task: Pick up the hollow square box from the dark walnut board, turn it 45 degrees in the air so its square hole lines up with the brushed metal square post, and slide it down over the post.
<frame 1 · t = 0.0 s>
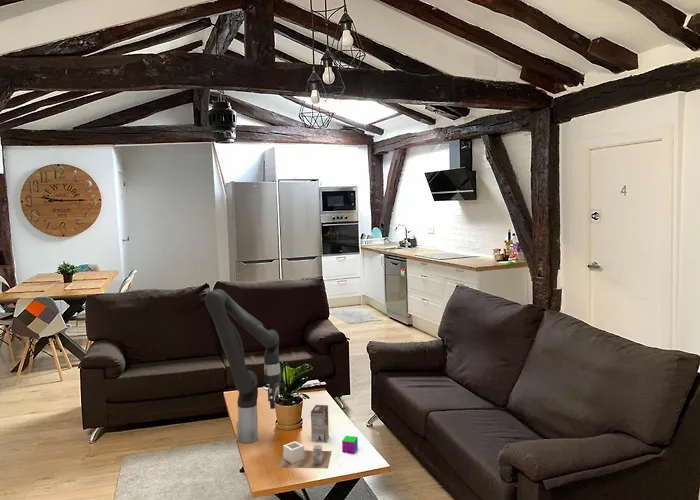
hand: (274, 405, 264), 17 cm above the table, tool pointing down, fingers open, 8 cm apart
hollow square box: (293, 458, 242), point 1 cm above the table, touching post board
puzzle toy: (350, 451, 253), on the table
post board: (305, 462, 242), on the table
coffee box: (320, 440, 264), on the table
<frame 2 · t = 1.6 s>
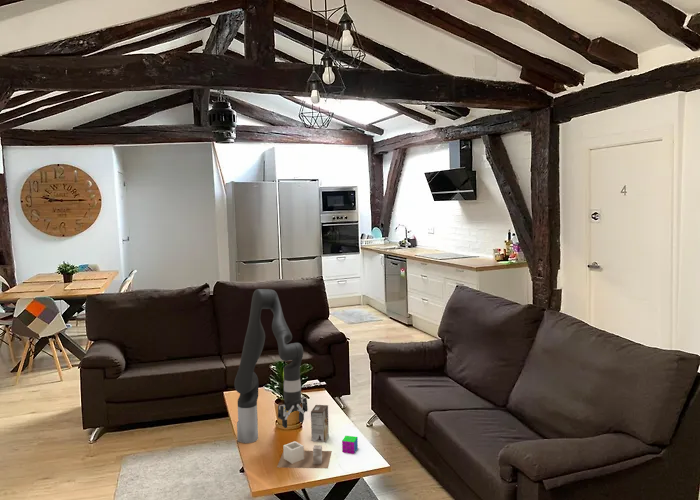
hand: (293, 424, 241), 17 cm above the table, tool pointing down, fingers open, 8 cm apart
nothing on the table moved.
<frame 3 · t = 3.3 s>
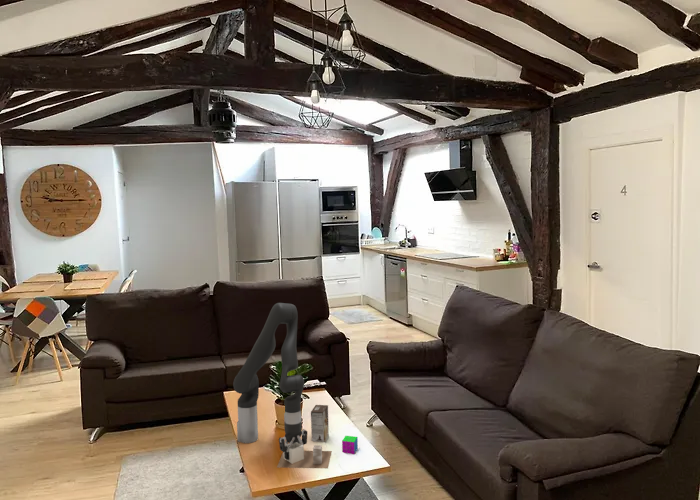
hand: (293, 456, 242), 2 cm above the table, tool pointing down, fingers closed on hollow square box, 6 cm apart
hollow square box: (293, 458, 242), point 2 cm above the table, touching gripper, post board
everything else where it was.
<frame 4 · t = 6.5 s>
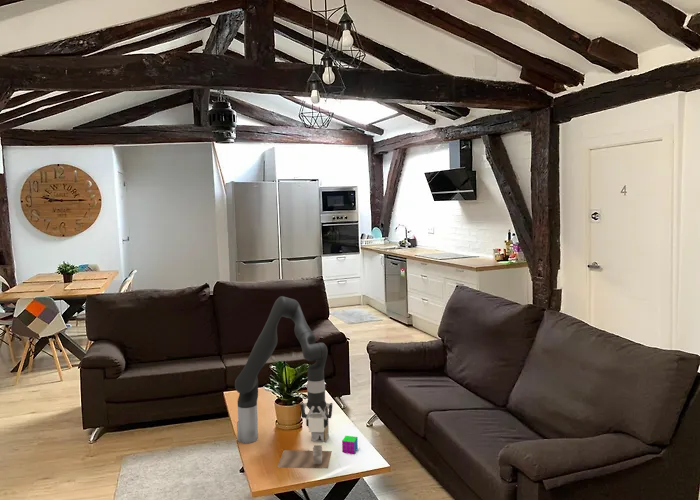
hand: (317, 426, 237), 17 cm above the table, tool pointing down, fingers closed on hollow square box, 6 cm apart
hollow square box: (317, 428, 237), point 17 cm above the table, touching gripper
everything else where it was.
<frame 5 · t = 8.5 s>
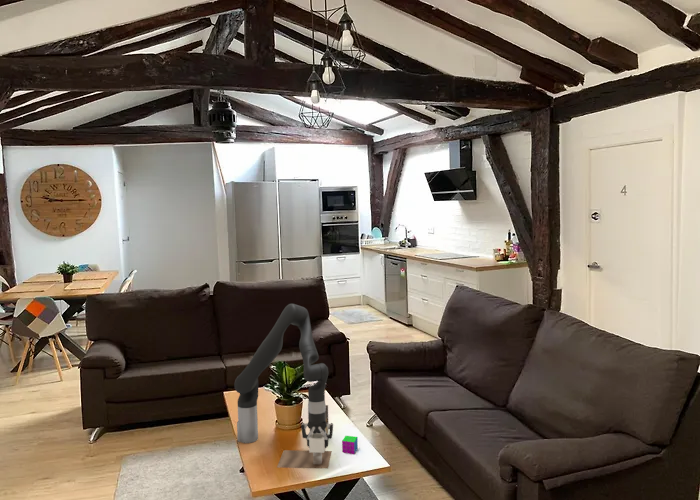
hand: (317, 447, 238), 8 cm above the table, tool pointing down, fingers closed on hollow square box, 6 cm apart
hollow square box: (317, 449, 238), point 7 cm above the table, touching gripper
everything else where it was.
when the fingers open (4 cm above the table, at t = 9.9 s): hollow square box drops 2 cm, resting on post board.
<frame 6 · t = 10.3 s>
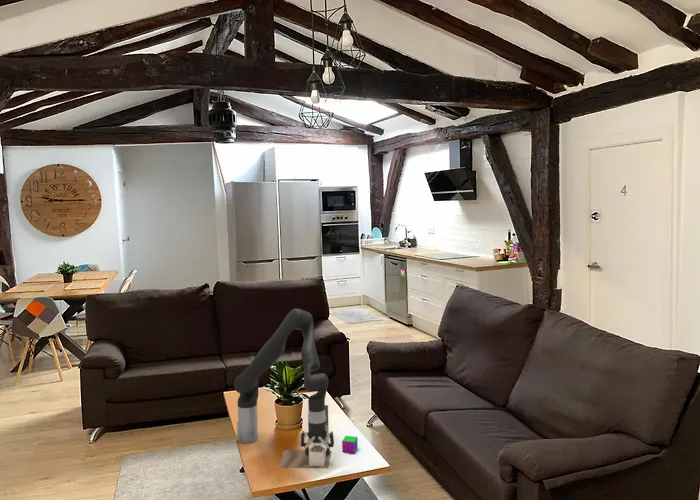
hand: (317, 455, 238), 5 cm above the table, tool pointing down, fingers open, 8 cm apart
hollow square box: (317, 462, 239), point 1 cm above the table, touching post board
everything else where it was.
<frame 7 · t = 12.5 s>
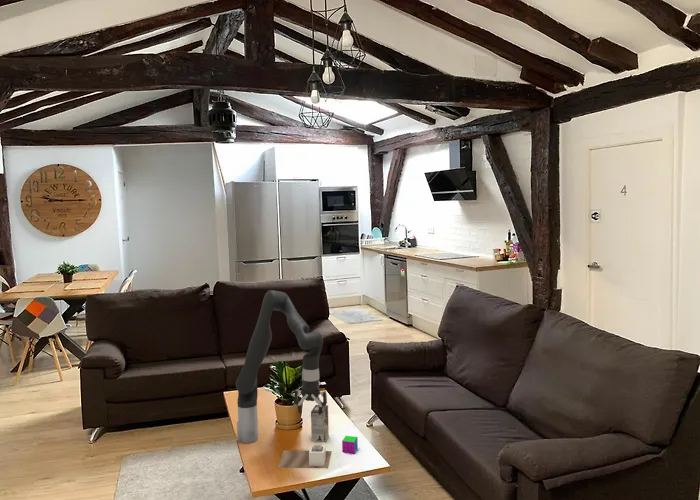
hand: (310, 413, 242), 21 cm above the table, tool pointing down, fingers open, 8 cm apart
nothing on the table moved.
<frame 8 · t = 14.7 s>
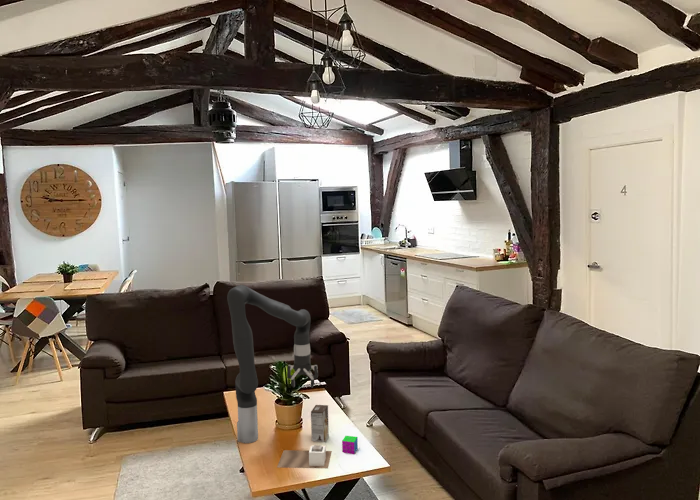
hand: (302, 386, 257), 28 cm above the table, tool pointing down, fingers open, 8 cm apart
nothing on the table moved.
at the end: hollow square box 0.1 cm from the target spot on the post board, point 1.5 cm above the post board's base; hollow square box tilted 0°; the gripper is holding nothing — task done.
